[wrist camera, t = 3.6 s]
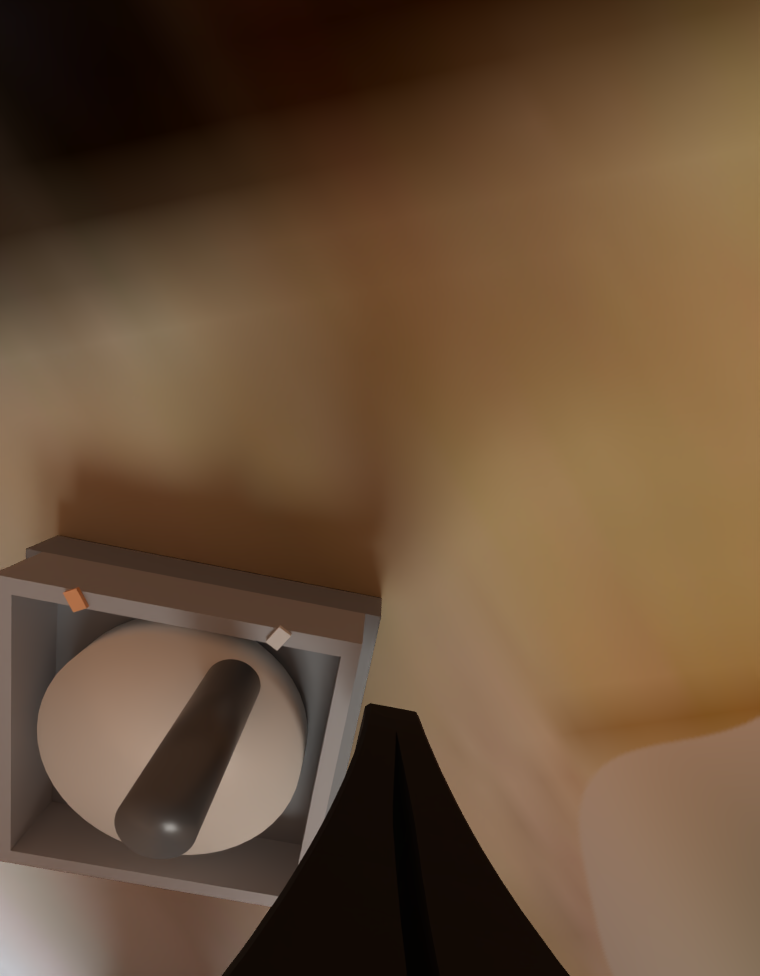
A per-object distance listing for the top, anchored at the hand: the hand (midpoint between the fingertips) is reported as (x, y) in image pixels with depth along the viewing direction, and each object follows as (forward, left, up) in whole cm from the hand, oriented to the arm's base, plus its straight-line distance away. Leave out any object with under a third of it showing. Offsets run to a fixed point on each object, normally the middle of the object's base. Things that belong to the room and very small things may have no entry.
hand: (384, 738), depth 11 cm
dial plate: (-3, +6, -4) cm, 8 cm away
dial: (-3, +6, -2) cm, 7 cm away
